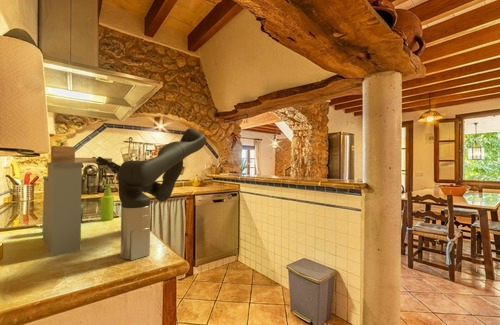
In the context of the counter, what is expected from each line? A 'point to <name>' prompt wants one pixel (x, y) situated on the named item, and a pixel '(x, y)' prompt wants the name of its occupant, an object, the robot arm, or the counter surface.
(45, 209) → the tall stepped gray tower
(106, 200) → the soap dispenser
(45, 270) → the counter surface
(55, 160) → the mallet
